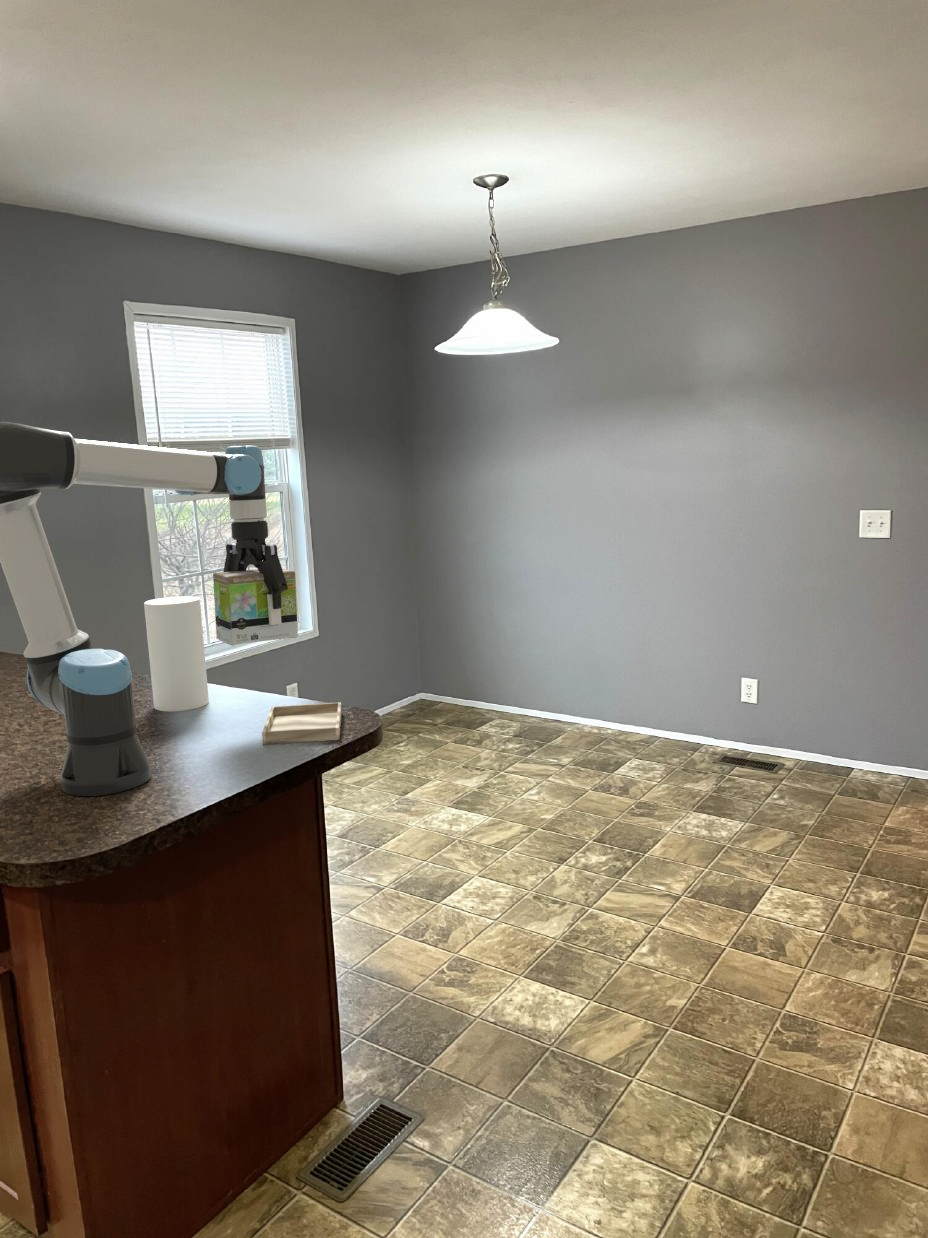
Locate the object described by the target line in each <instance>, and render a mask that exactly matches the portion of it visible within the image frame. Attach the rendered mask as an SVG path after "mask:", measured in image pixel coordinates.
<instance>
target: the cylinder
mask: <svg viewBox="0 0 928 1238" xmlns="http://www.w3.org/2000/svg"><path fill="white" fill-rule="evenodd" d="M200 598H201V597H197V596H189V595H188V596H184V595H183V596H168V597H161V598H159V597H158V598H153V599H149V600H146V601H145V602H144V603H143V607H144V609H143V610H144V617H145V619H144V620H145V628H146V637H147V649H148V658H149V669H150V678H151V689H152V700H153V708H154V709H155V710H157V711H160V712H183V711H190V710H194V709H195V710H196V709H199V708H203V707H205V705H208V703H210V699H209V698H210V697H209V688H208V686H209V685H208V678H207V677H208V676H207V666H206V665H207V664H206V663H207V662H206V651H205V643H204V631H203V620H202V619H203V618H202V609H201V606H202V605H201V599H200Z"/></svg>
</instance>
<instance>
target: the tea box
mask: <svg viewBox="0 0 928 1238" xmlns="http://www.w3.org/2000/svg"><path fill="white" fill-rule="evenodd" d="M282 570H283V573H284V576H285V579H286V582H287V585H288V589H287V590H285V591H283V592H281V603H282V607H281V623H280V624H275V625H269V614H268V599H267V594H268V592H269V590H268V588H267V586H266V584H265V582H264V576H263V574H261V573H260V572H259V570H258V569H257V568H255V569H246V570H243V571H231V572H224V571H219V572H213V573H212V575H213V597H214V598H213V599H214V600H213V601H214V615H215V616H214V618H215V634H216V635H215V636H216V639H217V640H218V641H220V642H222V643H225V644H227V645H230V646H237V645H242V644H249V643H257V642H266V641H277V640H284V639H285V640H286V639H296V638H298V635H299V632H298V631H299V629H298V628H299V627H298V624H299V623H298V607H297V604H298V603H297V589H296V588H297V585H296V572H295V571H294V570H290V569H289V570H288V569H285V568H284V569H283V568H282ZM280 585H281V584H280Z"/></svg>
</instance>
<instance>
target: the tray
mask: <svg viewBox="0 0 928 1238" xmlns="http://www.w3.org/2000/svg"><path fill="white" fill-rule="evenodd" d="M268 713H269V714H268V715H267V718H266V721H265V724H264V727H263V729H262V732H261V736H262V739H261V740H262V745H264V746H266V745H267V746H268V745H280V744H293V743H308V742H309V743H310V742H312V743H313V742H325V741H339V740H340V738H341V737H340V736H341V728H342V727H341V725H342V716H343V715H342V714H343V712H342V702H341V701H340V702H338V701H337V702H327V703H326V702H325V703H324V702H323V703H310V704H309V703H308V704H294V705H280V706H279V705H278V706H277V705H276V706H271V708H270V710H269V712H268ZM340 727H341V728H340Z"/></svg>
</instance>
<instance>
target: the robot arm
mask: <svg viewBox="0 0 928 1238" xmlns="http://www.w3.org/2000/svg"><path fill="white" fill-rule="evenodd" d="M74 484H75V485H89V486H106V487H119V488H120V487H122V488H132V489H133V488H136V489H148V490H149V489H152V490H168V491H175V492H176V493H177V494H178V495H181V496H194V495H195V496H196V495H228V497H229V498H228V500H229V517H230V519H231V520H233V521H232V522H231V524H230V529H231V538H232V539H233V540H235V543H226V545H225V551H226V552H225V553H226V554H225V559H224V560H225V561H224V567H223V572H231V571H243V570H248V567H249V566H250V565H252V566H254V568H255V569H258V570H259V572H260V573H261V574H263V576H264V582H265V584H266V586H267V588H268V590H269V592H268V594H267V599H268V614H269V625H275V624H280V623H281V607H282V603H281V592H283V591H285V590H287V589H288V585H287V582H286V579H285V576H284V573H283V570H282V569H283V568H282V565H281V561H280V558H279V554H278V546H277V544H271V545H270V544H269V545H268V544H267V542H266V539H267V538H268V537H269V527H268V521H267V520H265V519H266V518H267V517H268V513H267V501H266V500H267V499H266V481H265V464H264V456H263V451H262V448H260V447H259V446H257V445H238V446H237V445H233V446H232V445H231V446H227V447H226V448H225V453H217V452H207V451H201V450H199V451H197V450H191V449H190V450H189V449H180V448H179V449H178V448H169V447H168V448H167V447H160V446H159V447H158V446H148V445H139V444H129V443H119V442H112V441H111V442H110V441H109V442H108V441H99V440H90V439H89V440H88V439H80V438H74V436H73V435H72V434H71V433H70V432H68V431H59V430H54V429H53V430H52V429H48V428H42V427H36V426H30V425H26V424H22V423H17V422H11V421H0V565H1V568H2V571H3V574H4V576H5V578H6V582H7V585H8V588H9V591H10V593H11V596H12V599H13V603H14V605H15V608H16V610H17V613H18V616H19V618H20V622H21V624H22V627H23V631H24V633H25V635H26V638H27V641H28V644H27V646H26V647H25V649H24V651H23V658H24V660H25V663H26V665H27V672H26V684H27V687H28V690H29V692H30V693H31V695H32V696H33V697H34V699H35V700H36V701H37V702H38V703H39V704H41V705H42V706H43V707H45V708H47V709H49V710H51V711H53V712H56V713H59V714H61V715H63V716H64V717H63V718H64V723H65V724H64V725H65V733H66V740H67V741H66V742H67V747H66V752H65V755H64V756H65V757H64V760H63V766H62V770H61V774H60V782H61V783H60V785H61V790H62V791H63V792H64V793H65V794H67V795H71V796H77V797H96V796H105V795H111V794H117V793H121V792H125V791H129V790H131V789H135V788H137V787H139V786H141V785H144V784H145V783H147V782H148V781H149V780H150V779H151V778H152V770H151V769H152V768H151V762H150V761H149V759H148V756H147V754H146V752H145V749H144V748H143V746H142V743H141V742H140V739H139V737H138V732H137V731H138V730H137V723H136V721H137V720H136V711H135V701H134V690H133V672H132V670H131V666H130V661H129V659H128V657H127V655H125V654H124V653H122V652H120V651H117V650H115V649H104V648H94V647H93V645H92V642H91V639H90V636H89V634H88V633H87V632H84V631H83V630H80V629H78V627H77V624H76V621H75V618H74V616H73V612H72V610H71V605H70V603H69V601H68V598H67V595H66V592H65V589H64V585H63V582H62V579H61V576H60V574H59V570H58V568H57V564H56V562H55V558H54V556H53V552H52V550H51V547H50V544H49V541H48V538H47V536H46V532H45V529H44V526H43V523H42V520H41V517H40V514H39V511H38V508H37V506H36V505H37V502H38V500H39V498H40V497H41V495H42V491H41V489H42V490H43V489H60V490H61V489H62V490H67V489H69V488H71V486H73V485H74ZM280 584H281V585H280Z"/></svg>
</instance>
